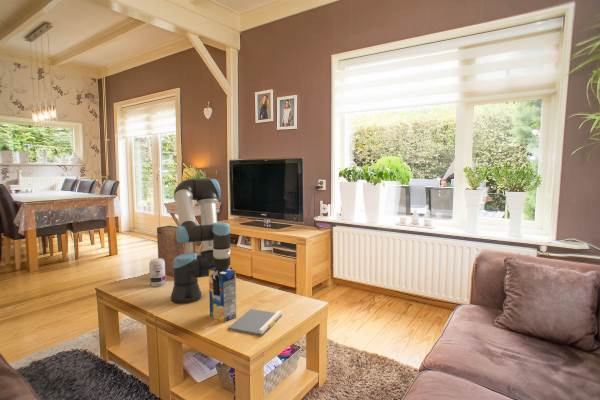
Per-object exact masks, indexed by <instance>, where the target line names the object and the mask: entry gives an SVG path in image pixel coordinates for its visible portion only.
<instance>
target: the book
mask: <svg viewBox="0 0 600 400" xmlns="http://www.w3.org/2000/svg"><path fill="white" fill-rule="evenodd" d="M177 227H178V226H175V225H164V226H159V227H157V228H156V234H157V235H156V241H157V258H162V259H164V261H165V276H168V277H169V276H170V277H172V278H174V268H173V266H174V259H175V257H177V256H178V255H181V254H184V253H190V252H191V253H193V252H194V253H197V252H196V242H188V243H179V242H177V237H176V228H177Z"/></svg>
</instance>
